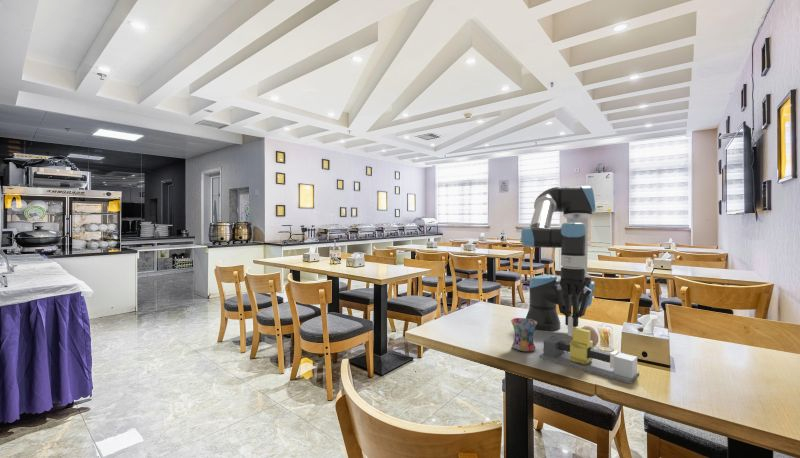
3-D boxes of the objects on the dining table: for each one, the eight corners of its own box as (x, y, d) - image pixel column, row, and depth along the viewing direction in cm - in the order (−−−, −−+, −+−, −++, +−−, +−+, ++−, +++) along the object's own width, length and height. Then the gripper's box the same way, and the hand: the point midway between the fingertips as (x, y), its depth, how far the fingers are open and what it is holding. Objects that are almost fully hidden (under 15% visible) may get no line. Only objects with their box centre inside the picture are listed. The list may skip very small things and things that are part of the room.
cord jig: (551, 350, 134) (552, 332, 134) (639, 374, 114) (639, 353, 113) (539, 357, 127) (539, 338, 127) (629, 383, 107) (630, 361, 107)
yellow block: (577, 355, 126) (577, 326, 125) (592, 359, 122) (593, 329, 122) (569, 360, 121) (570, 329, 121) (585, 364, 118) (585, 333, 117)
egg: (597, 346, 139) (597, 324, 139) (599, 352, 132) (599, 329, 132) (576, 343, 142) (577, 322, 142) (577, 349, 135) (577, 327, 135)
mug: (530, 355, 129) (530, 326, 129) (506, 348, 136) (506, 321, 135) (543, 347, 138) (544, 319, 137) (521, 341, 144) (521, 315, 144)
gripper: (549, 266, 125) (548, 333, 126) (588, 270, 116) (587, 342, 116) (558, 264, 130) (557, 328, 131) (597, 268, 121) (595, 337, 121)
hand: (571, 335), depth 124 cm, fingers closed
